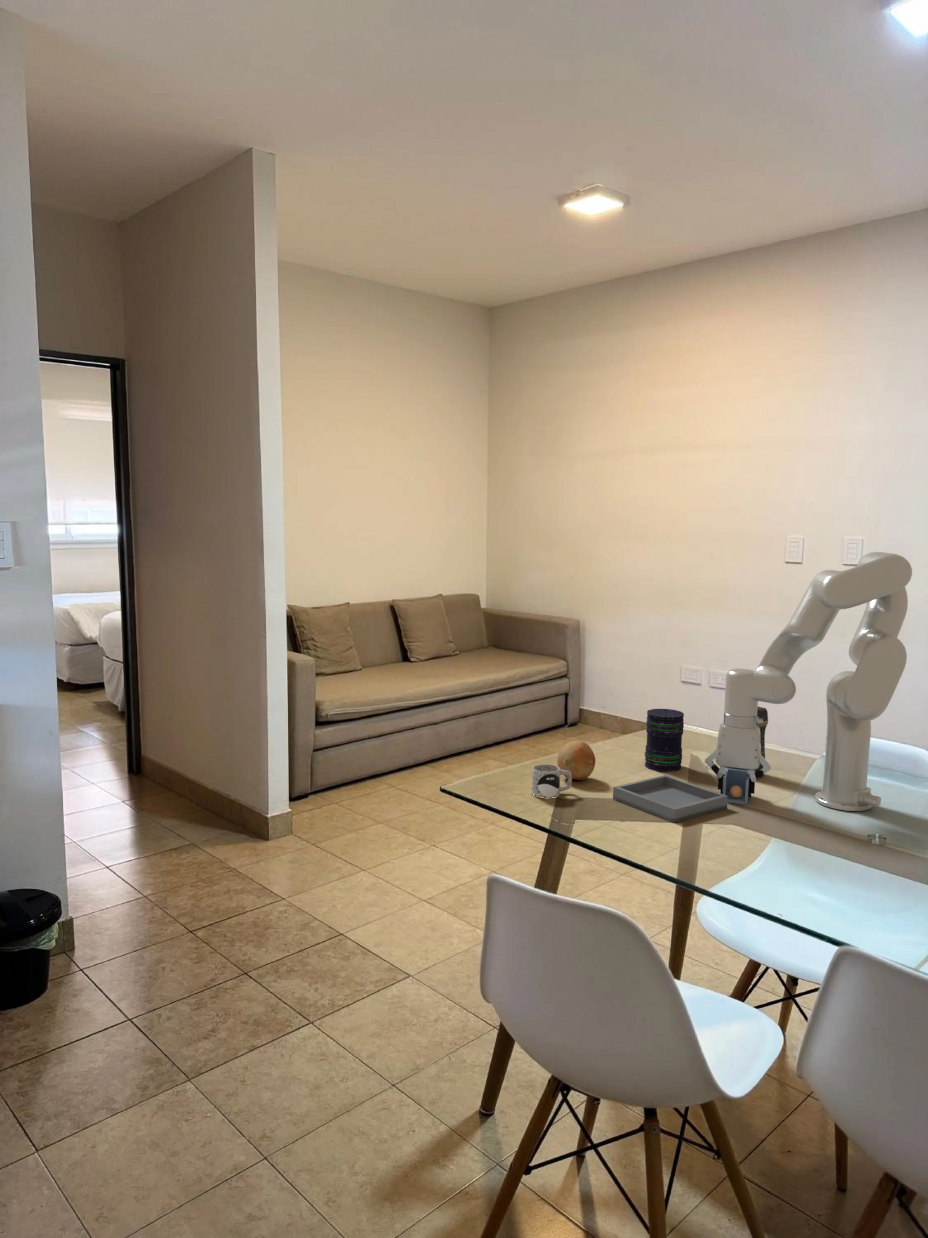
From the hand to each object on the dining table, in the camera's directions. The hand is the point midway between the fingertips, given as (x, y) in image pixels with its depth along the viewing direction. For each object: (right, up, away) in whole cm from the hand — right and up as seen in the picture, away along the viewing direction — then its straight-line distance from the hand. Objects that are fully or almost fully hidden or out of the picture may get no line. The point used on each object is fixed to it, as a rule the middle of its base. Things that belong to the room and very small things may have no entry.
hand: (735, 793), depth 210 cm
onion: (-37, +1, +13) cm, 39 cm away
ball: (0, +1, -2) cm, 2 cm away
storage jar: (-12, +2, +26) cm, 28 cm away
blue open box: (0, -1, 0) cm, 1 cm away
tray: (-17, -1, -5) cm, 18 cm away
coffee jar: (+9, +1, +21) cm, 22 cm away
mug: (-44, -1, +1) cm, 44 cm away
